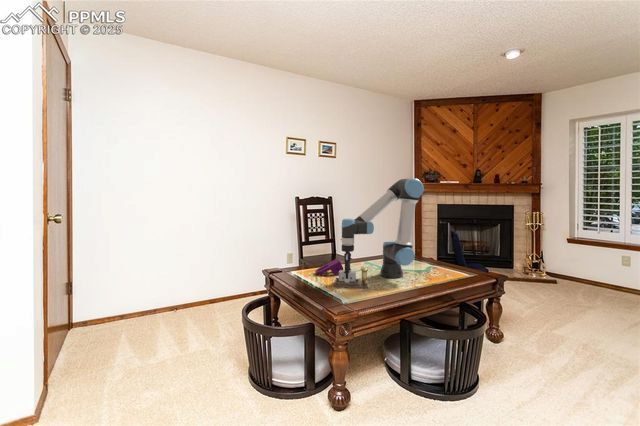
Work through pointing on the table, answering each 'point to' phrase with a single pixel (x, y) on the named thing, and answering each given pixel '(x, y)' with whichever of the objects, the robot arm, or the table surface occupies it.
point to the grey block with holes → (351, 276)
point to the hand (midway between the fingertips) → (347, 282)
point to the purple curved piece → (330, 267)
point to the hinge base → (358, 282)
